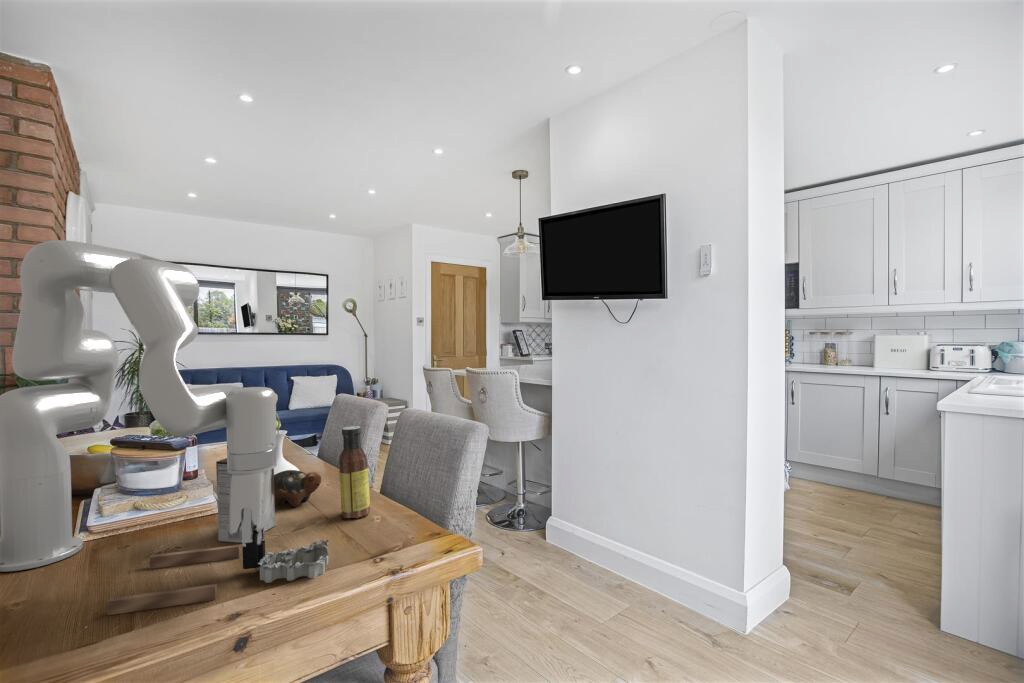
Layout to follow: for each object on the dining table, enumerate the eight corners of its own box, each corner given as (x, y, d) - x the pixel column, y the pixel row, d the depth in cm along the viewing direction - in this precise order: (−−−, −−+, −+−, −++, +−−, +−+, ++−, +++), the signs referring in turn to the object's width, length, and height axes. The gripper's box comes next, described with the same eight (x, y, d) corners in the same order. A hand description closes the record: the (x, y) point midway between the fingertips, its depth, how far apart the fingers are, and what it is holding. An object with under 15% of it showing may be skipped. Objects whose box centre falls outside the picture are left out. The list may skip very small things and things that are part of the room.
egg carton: (332, 561, 90) (332, 538, 90) (321, 581, 83) (321, 557, 82) (270, 564, 89) (270, 542, 89) (253, 586, 81) (253, 561, 81)
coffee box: (250, 524, 107) (248, 450, 107) (276, 526, 106) (274, 451, 106) (216, 541, 98) (215, 460, 98) (245, 544, 97) (243, 462, 97)
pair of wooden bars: (107, 615, 72) (106, 601, 72) (152, 566, 88) (151, 555, 88) (215, 599, 76) (215, 586, 76) (240, 555, 92) (240, 544, 92)
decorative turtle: (313, 510, 115) (313, 476, 115) (249, 510, 115) (248, 476, 115) (329, 496, 125) (329, 465, 125) (270, 497, 125) (269, 465, 125)
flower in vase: (259, 477, 142) (257, 390, 142) (302, 473, 145) (301, 388, 145) (250, 491, 130) (248, 396, 129) (297, 487, 133) (295, 394, 133)
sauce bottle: (373, 509, 115) (371, 424, 115) (366, 519, 109) (364, 429, 108) (344, 510, 115) (343, 424, 114) (335, 520, 109) (334, 430, 108)
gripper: (238, 451, 91) (240, 550, 91) (215, 473, 77) (217, 591, 77) (283, 448, 93) (284, 545, 93) (268, 469, 79) (270, 583, 79)
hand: (254, 565), depth 85 cm, fingers closed
